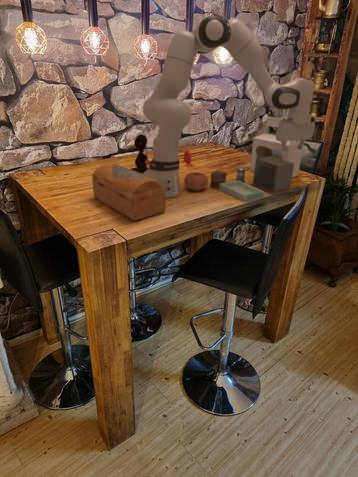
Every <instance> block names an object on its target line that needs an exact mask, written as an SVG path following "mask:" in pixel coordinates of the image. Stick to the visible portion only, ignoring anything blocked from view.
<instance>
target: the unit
mask: <svg viewBox="0 0 358 477" xmlns="http://www.w3.org/2000/svg"><path fill="white" fill-rule="evenodd" d="M293 168H294V163H292V162H288V161H285V160H282V158H279V157H276V156H273V155H272V156H271V157H264V158H256V163H255V171H253V172H254V173H253V181H252V182H250V183H249V185H250V186H252V187H255V188H257V189H259V190H262V191H264V192H265V193H268V194H270V195H272V196H277V195H280V194H285V193H289V192H294V189H293V188H291V185H292V184H291V183H292V179H293V177H292V174H293Z"/></svg>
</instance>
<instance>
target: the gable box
mask: <svg viewBox="0 0 358 477" xmlns="http://www.w3.org/2000/svg"><path fill="white" fill-rule="evenodd" d="M282 119H284V118H283V117H275V116H268V117H267V118H266V119H265V120H266V121H263V122H262V125H261V127H260V128H259V129H258V131H257V132H256V134H254V137H253V141H252V149H251V150H252V151H251V157H250V164H249V171H251V172H254V171H255V163H256V158H264V157H271V156H273V151H279V152H281V153H282V157H281V159H282V160H285V161H288V162H292V163H294V168H293V174H292V178H295V177H298V176H299V172H300V166H301V161H302V157H303V156H302V155H303V150H304V145H303V147H302V149H301V150H299V149H297V146H298V145H299V144H300V142H301V141H300V140H293V141H287V143H286V147H288V149H287V151H282V144H281V141H277V140H276V134H273V133H269V129H270V127H273V128H278V126H279V123H280V122H281V120H282ZM282 122H283V121H282Z"/></svg>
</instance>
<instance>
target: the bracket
mask: <svg viewBox="0 0 358 477" xmlns="http://www.w3.org/2000/svg"><path fill="white" fill-rule="evenodd" d="M183 162H185V163H186V164H183V166H184V167H186V168H195V167H196V166H194V165H193V164H192V154H191V152H190V150H184V153H183Z"/></svg>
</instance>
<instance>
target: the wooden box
mask: <svg viewBox="0 0 358 477" xmlns="http://www.w3.org/2000/svg"><path fill="white" fill-rule="evenodd" d="M92 192H93V197H94V199H95V200H97V201H99V202H101V203H102V204H104V205H106V206H107V207H109V208H111V209H113V210H114V211H116V212H118V213H119V214H122V215H123V216H125V218H128V219H129V220H131V221H133V222H135V221H138V220H142V219H145V218H148V217H152V216H155V215H159V214H161V213H165V212H166V198H165V187H164V186H163V185H162V184H161V183H159V182H158V181H157V180H155V179H152V178H150V177H147V176H145V175H143V174H141V173H139V172H136V171H133V170H131V168H128V167H125V166H122V165H120V164H117V163H108V164H103V165H100V166H99V167H97V168H96V169H95V170H94V171H93V173H92Z"/></svg>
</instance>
